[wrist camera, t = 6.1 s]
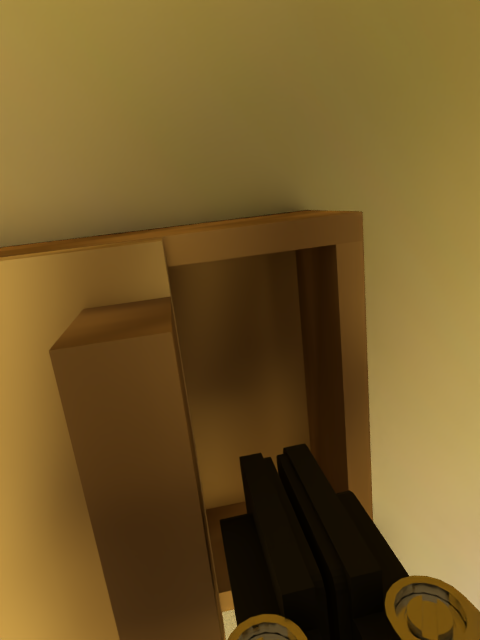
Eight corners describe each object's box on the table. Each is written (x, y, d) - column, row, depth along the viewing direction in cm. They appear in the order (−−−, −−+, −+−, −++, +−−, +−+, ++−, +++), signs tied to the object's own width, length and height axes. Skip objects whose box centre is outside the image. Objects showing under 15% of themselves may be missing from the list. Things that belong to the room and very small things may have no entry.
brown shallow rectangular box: (306, 210, 17) (362, 211, 12) (325, 488, 20) (374, 575, 15) (-198, 271, 14) (-378, 303, 10) (-81, 571, 18) (-171, 704, 13)
